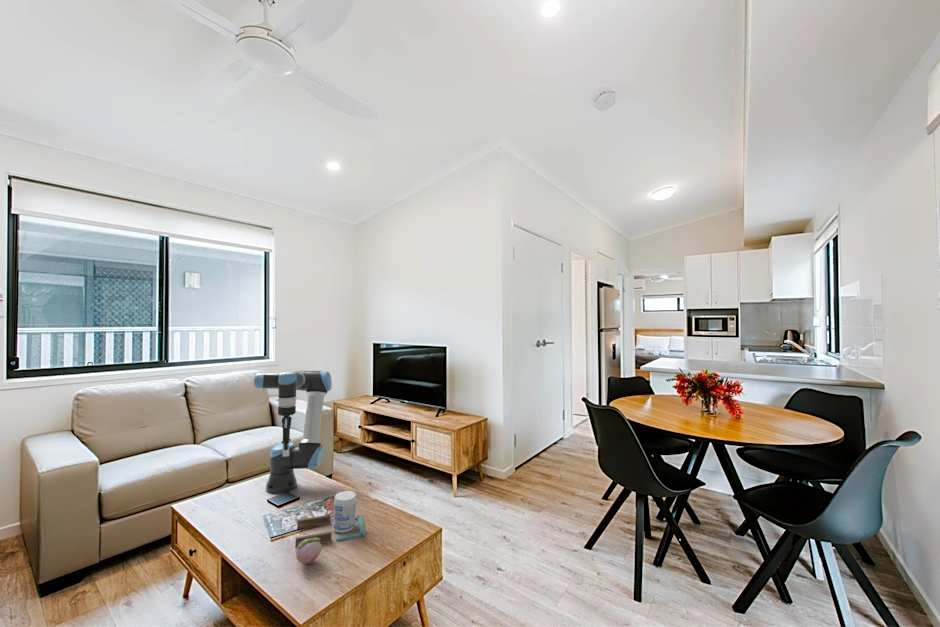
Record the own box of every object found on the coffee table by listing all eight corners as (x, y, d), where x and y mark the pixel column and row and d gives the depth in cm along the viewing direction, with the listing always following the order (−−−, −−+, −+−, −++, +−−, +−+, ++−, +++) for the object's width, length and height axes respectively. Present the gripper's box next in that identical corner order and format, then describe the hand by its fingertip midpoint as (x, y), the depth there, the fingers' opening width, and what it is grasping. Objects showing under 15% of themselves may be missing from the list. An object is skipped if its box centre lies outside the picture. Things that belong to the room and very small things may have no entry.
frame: (334, 520, 182) (334, 519, 182) (361, 516, 186) (361, 514, 186) (336, 541, 166) (336, 539, 166) (365, 536, 170) (365, 534, 170)
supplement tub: (332, 535, 170) (333, 501, 170) (333, 523, 179) (334, 491, 179) (355, 532, 173) (356, 499, 173) (355, 520, 182) (356, 489, 182)
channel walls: (297, 527, 176) (297, 519, 176) (330, 522, 181) (330, 514, 181) (295, 547, 161) (295, 539, 161) (331, 541, 166) (331, 533, 166)
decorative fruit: (313, 553, 157) (314, 528, 157) (324, 562, 152) (325, 536, 152) (290, 564, 150) (291, 538, 150) (301, 574, 145) (301, 547, 145)
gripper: (279, 402, 187) (278, 451, 187) (276, 409, 175) (275, 462, 175) (296, 402, 190) (295, 450, 190) (295, 408, 178) (293, 460, 178)
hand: (285, 455), depth 182 cm, fingers closed
